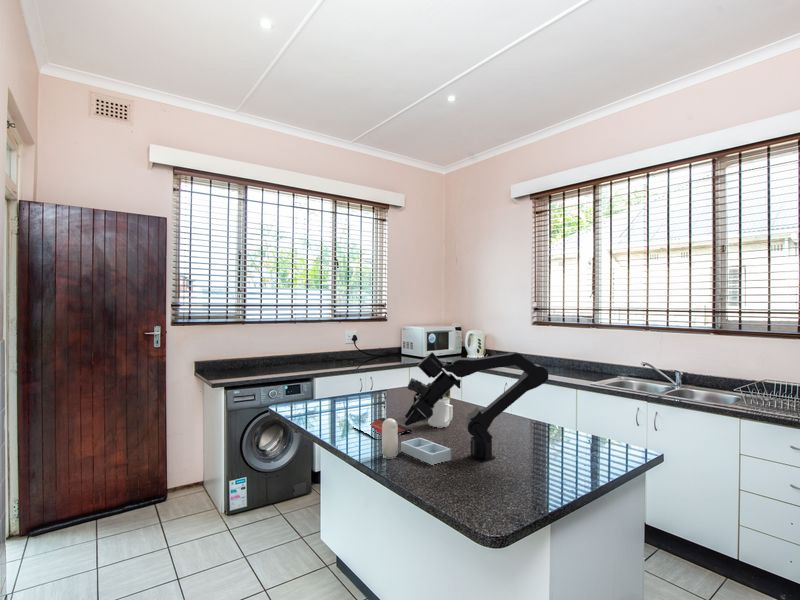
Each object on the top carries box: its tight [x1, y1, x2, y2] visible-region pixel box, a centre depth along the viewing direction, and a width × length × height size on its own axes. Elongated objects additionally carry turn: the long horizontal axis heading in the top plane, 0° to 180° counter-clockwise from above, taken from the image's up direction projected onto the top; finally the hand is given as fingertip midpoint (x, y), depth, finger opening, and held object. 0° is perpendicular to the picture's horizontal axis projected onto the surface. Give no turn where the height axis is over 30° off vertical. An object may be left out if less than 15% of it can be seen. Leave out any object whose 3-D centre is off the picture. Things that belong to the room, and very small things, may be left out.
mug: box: [427, 397, 454, 429], centre depth 178 cm, size 12×9×11 cm
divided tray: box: [400, 437, 452, 466], centre depth 142 cm, size 16×8×4 cm, turn 38°
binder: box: [370, 417, 413, 435], centre depth 172 cm, size 16×2×21 cm
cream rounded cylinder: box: [381, 417, 399, 457], centre depth 142 cm, size 5×5×13 cm
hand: (405, 420), depth 142 cm, fingers open, 9 cm apart
